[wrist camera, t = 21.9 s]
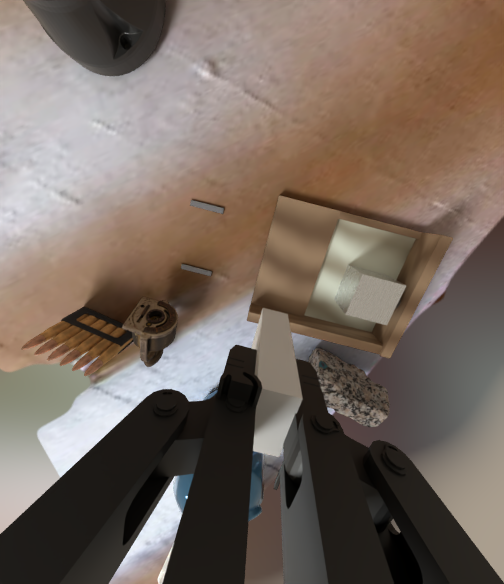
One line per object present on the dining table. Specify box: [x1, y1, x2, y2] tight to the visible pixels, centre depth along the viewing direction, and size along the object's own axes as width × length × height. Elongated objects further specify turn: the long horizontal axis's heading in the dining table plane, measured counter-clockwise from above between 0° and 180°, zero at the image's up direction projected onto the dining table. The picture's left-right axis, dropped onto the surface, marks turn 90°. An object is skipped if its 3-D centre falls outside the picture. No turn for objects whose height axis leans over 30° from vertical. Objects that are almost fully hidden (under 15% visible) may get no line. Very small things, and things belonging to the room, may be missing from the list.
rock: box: [308, 348, 389, 427], centre depth 37 cm, size 13×9×4 cm
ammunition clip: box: [22, 307, 133, 376], centre depth 37 cm, size 11×2×12 cm, turn 65°
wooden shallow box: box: [247, 195, 453, 358], centre depth 35 cm, size 18×22×5 cm
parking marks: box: [181, 200, 224, 276], centre depth 37 cm, size 11×5×1 cm, turn 166°
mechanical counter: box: [122, 297, 178, 367], centre depth 37 cm, size 7×13×10 cm, turn 176°
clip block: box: [334, 265, 406, 325], centre depth 34 cm, size 6×6×8 cm
